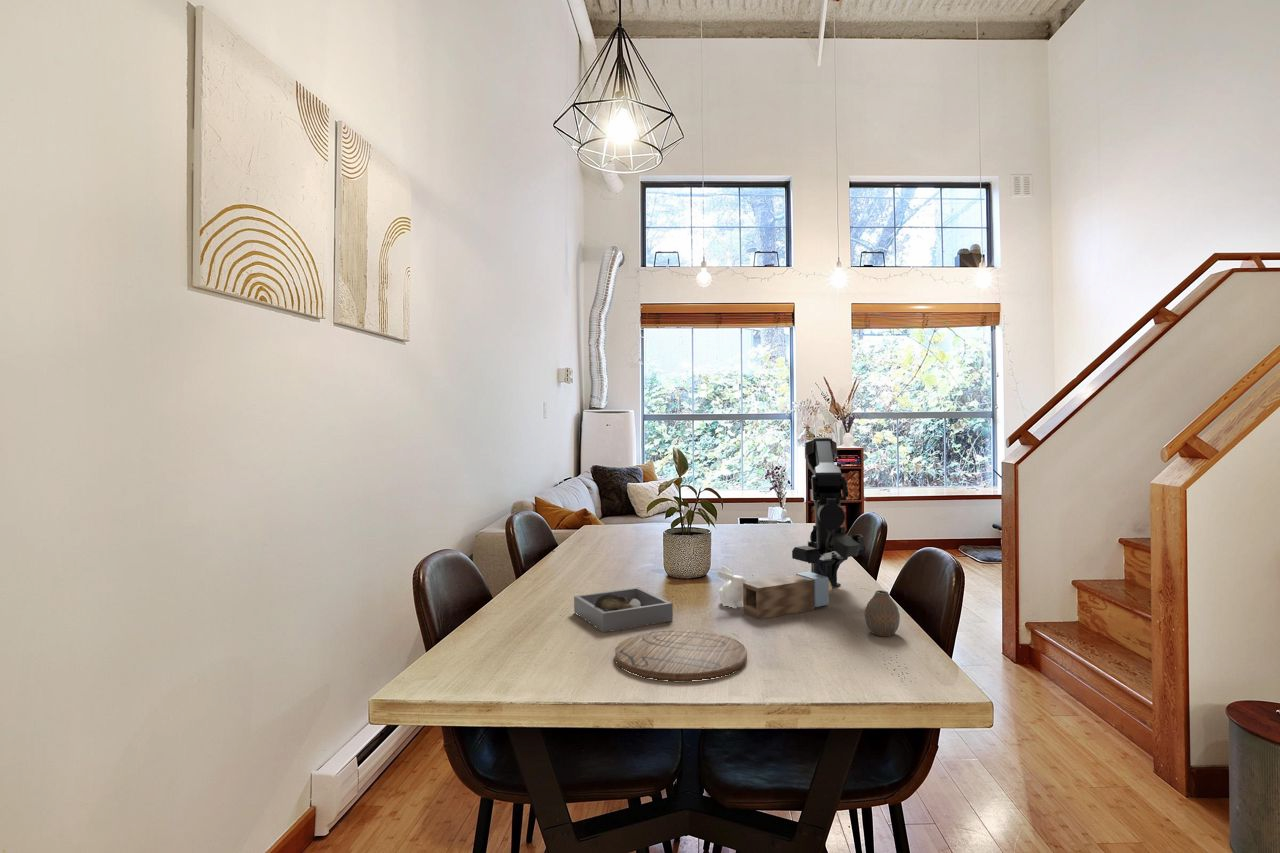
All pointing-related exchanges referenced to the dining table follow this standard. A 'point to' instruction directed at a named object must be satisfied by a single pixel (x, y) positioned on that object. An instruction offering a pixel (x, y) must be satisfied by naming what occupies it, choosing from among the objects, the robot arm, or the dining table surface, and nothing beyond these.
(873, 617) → the vase
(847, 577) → the dining table surface
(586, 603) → the tray rim
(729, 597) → the rabbit figurine
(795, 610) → the block
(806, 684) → the dining table surface
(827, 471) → the robot arm
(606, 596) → the eagle figurine
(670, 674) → the trivet
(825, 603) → the spacer
